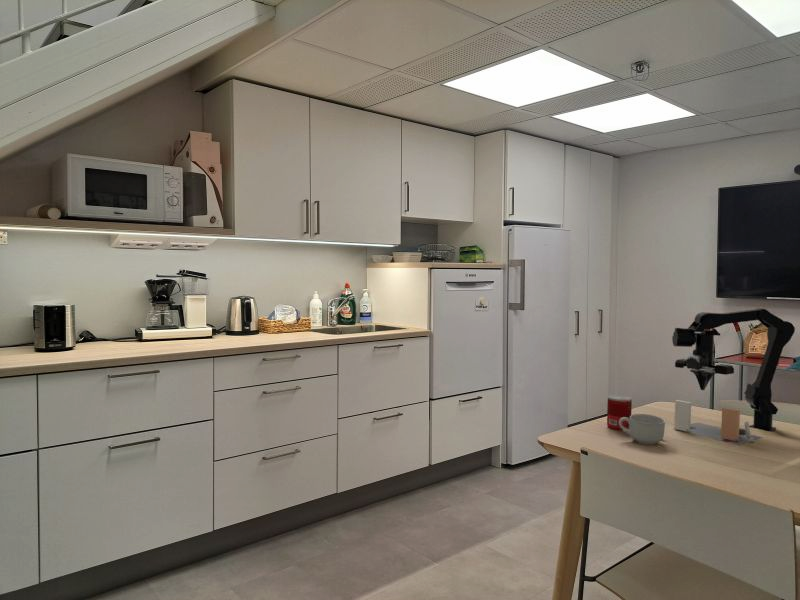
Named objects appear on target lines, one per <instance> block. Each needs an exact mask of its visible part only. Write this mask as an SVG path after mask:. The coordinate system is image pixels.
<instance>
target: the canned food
mask: <svg viewBox="0 0 800 600" xmlns="http://www.w3.org/2000/svg"><path fill="white" fill-rule="evenodd" d="M632 402H633V401H632V397H631V396H628V395H626V396H625V395H622V394H621V395H620V394H610V395H608V396H607V404H606V405H607V410H606V414H607V415H606V425H607V428H609V429H611V430H614V431H623V429H621V427H620V426H619V420H620V419H621V418H622V417H627V418H629V419H630V416H631V415H632V409H633V408H632V407H633V406H632ZM622 425H623V427H625V428H626V429H628V430H629V427H630V426H629V424H628V422H627V421H626V420H624V421H622Z"/></svg>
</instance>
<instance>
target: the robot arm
mask: <svg viewBox="0 0 800 600" xmlns="http://www.w3.org/2000/svg"><path fill="white" fill-rule="evenodd" d="M753 321H758V322H759V323H761V325H763V326H764V327H765V328H767V334H766V336H767V337H766V338H767V347H766V348H765V352H764V355H763V358H762V361H761V364H760V366H759V367H760V368H759V370H758V373H757V375H756V376H757V377H756V379H755V381H754V382H753V383H752V384H751V383H747V386H746V390H745V391H744V393H743V394H744V395H745V397H744V399H745V400H746V402H747V403H748V404H749V405H750V408H751V409H752V410H753V420H752V421H753V424H751V425H750V424H749V428H752V429H757V430H762V431H766V432H771V431H774V430H777V427H776V426H773V416H774V415H777V413H778V411H779V408H778V407H777V406H776V405H775V404H774V403H773V402H772V396H773V395H772V394H773V393H772V383H773V380H774V376H775V373H776V371H777V368H778V365H779V361H780V358H781V356H782V353H783V349H784V347H785V346H786V345H787V344H788V343H789V342H790V341H791V339H792V337H793V336H794V334H795V331H796V327H795V326H794V324H793V323H792V322H790V321H785V320H783V319H781V318H780V317H778V316H776V314H773V313H772V312H770V311H769V310H768V309H766V308H760V307H759V308H758V307H757V308H755V309H746V310H739V311H738V310H737V311H732V312H731V311H730V312H723V313H722V312H721V313H719V312H704V311H703V312H698V313H696V315H695V316H694V320H693V321H692V323H691V324H690V325H689V326H688V327H687V328H682V327H675V328H674V331H673V334H672V336H671V337H672V345H673V347H682V348H684V347H686V348H692V347H693V346H694V345H695V348H694V349H693V351H692V355H690V356H688V357H687V358H680V359H676V360H675V362H674V367H675V368H680V369H684V367H686V368H687V369H688V370H689V372H691V373H692V374H693V375H695V378H696V380H697V383H698V386H699V388H700V391H705V390H706V388H707V387H708V385H709V382H710V380H711V379H712V378H713V376H714V375H716V374H718V375H725V376H728V375H733V374H735V368H734V366H733V365H729V364H723V363H721V364H715V361H714V354H716V350H714V344H715V343H714V337H715V336H719V337H720V336H721V333H720V332H719V331H717V329H716V328H720V327H721V326H725V325H727V324H728V325H729V324H735V323H736V324H737V323H744V322H745V323H746V322H753Z"/></svg>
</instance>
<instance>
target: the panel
mask: <svg viewBox="0 0 800 600" xmlns="http://www.w3.org/2000/svg"><path fill="white" fill-rule="evenodd" d="M749 426H750V423H749V421H745V422H744V427H745V429H744V428H741V427H739V439H738V440H735V441H732V440H728V439H724V438H721V436H722V435H721V427H719V426H715V425H711V424H710V425H709V424H706V423H702V422H694V423H690V430H688V431H682V430H678V429H674V427H673V428H672V430H675V431H680V432H684V433H687V434H692V435H695V436H701V437H703V438H708V439H713V440H716V441H721V442H724V443H729V444H733V445H737V446H741V445H744V444H747V443H752V442H754V441H756V440H760V439H762V438H763V436H758V435H754V434H751V431H750V430H751V429H750V428H751V427H749ZM763 439H764V438H763Z"/></svg>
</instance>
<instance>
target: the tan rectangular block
mask: <svg viewBox="0 0 800 600" xmlns="http://www.w3.org/2000/svg"><path fill="white" fill-rule="evenodd" d="M740 419H741V410H739V409H734V408H729V407H722V409H721V427H720V428H721V435H722V436H721V438H724V439H728V440H732V441H735V440H738V439H739V428H740V421H741V420H740Z"/></svg>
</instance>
